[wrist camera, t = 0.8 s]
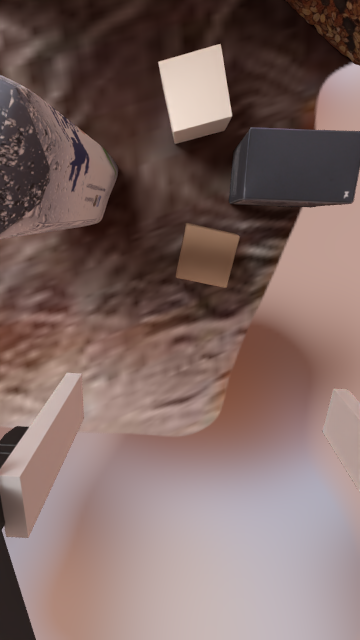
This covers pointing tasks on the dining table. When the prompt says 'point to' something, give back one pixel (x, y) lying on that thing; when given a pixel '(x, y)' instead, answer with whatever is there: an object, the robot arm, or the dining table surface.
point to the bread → (334, 23)
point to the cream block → (196, 93)
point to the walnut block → (206, 255)
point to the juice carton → (47, 168)
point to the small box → (295, 168)
